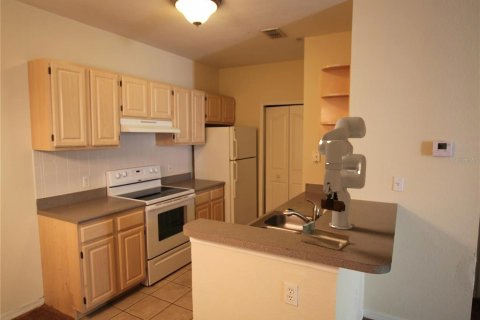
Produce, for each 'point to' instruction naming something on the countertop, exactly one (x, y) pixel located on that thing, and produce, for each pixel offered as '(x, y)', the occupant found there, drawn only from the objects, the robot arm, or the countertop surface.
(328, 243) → the rail board
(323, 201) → the brick
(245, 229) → the countertop surface
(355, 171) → the robot arm
